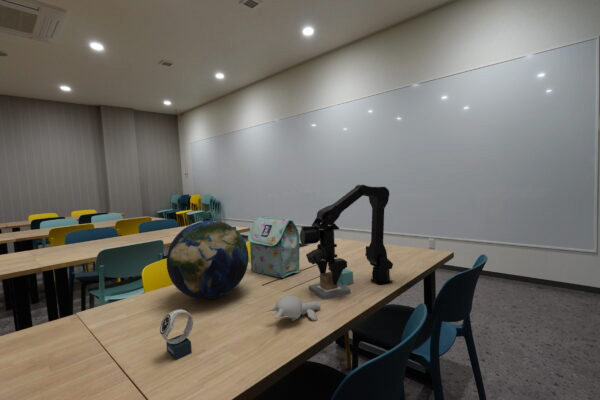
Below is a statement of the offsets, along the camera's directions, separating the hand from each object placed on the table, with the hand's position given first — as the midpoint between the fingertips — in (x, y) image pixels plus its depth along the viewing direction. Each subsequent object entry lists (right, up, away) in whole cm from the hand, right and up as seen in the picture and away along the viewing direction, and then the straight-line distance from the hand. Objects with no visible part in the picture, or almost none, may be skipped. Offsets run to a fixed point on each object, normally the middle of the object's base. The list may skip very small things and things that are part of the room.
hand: (328, 281), depth 115 cm
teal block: (+8, -3, +9) cm, 12 cm away
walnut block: (0, -2, 0) cm, 2 cm away
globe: (-46, -6, 0) cm, 46 cm away
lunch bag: (-23, -4, +28) cm, 37 cm away
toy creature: (-13, -6, -22) cm, 26 cm away
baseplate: (0, -4, 0) cm, 4 cm away
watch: (-43, -9, -38) cm, 58 cm away
